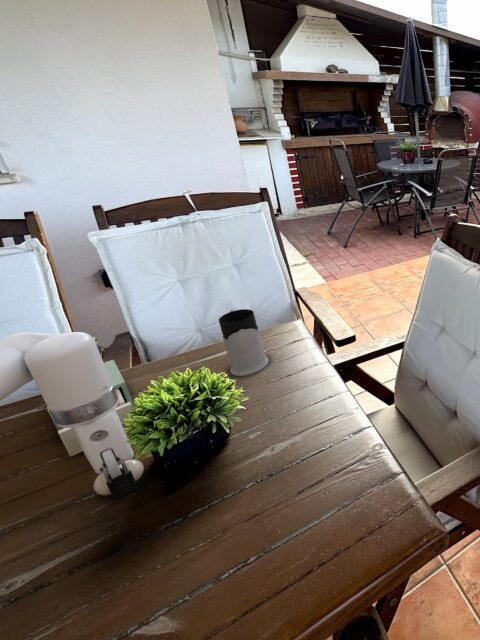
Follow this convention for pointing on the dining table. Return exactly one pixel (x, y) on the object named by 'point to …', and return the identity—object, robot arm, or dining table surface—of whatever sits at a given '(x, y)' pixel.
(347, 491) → the dining table surface
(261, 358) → the glass holder
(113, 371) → the cabinet
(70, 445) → the drawer
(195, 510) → the dining table surface
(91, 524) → the dining table surface
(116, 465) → the robot arm
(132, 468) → the capsule
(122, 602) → the dining table surface
